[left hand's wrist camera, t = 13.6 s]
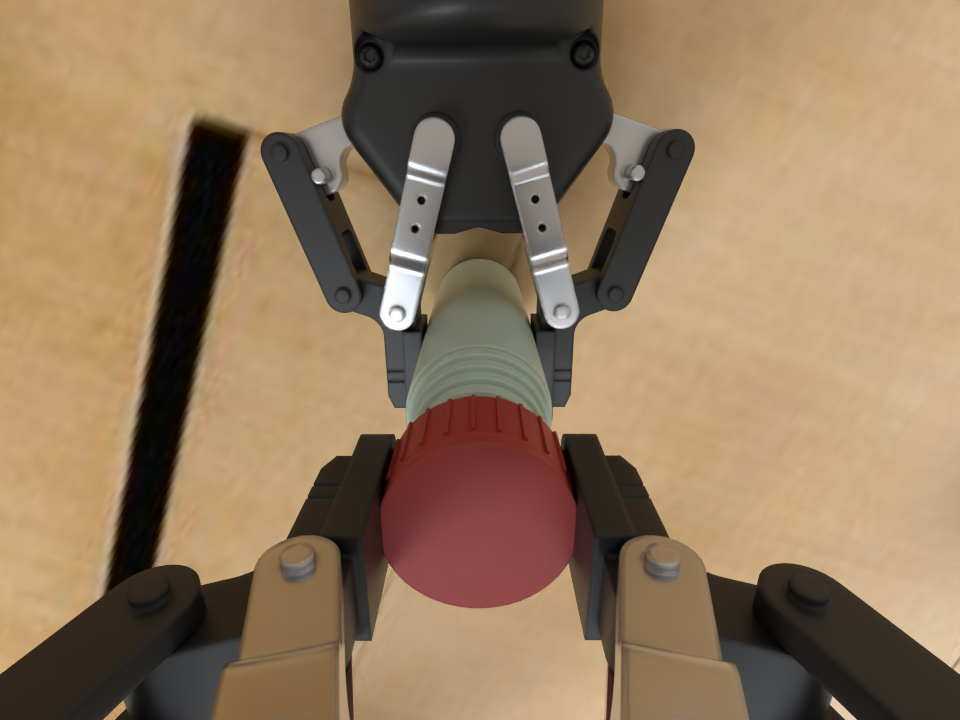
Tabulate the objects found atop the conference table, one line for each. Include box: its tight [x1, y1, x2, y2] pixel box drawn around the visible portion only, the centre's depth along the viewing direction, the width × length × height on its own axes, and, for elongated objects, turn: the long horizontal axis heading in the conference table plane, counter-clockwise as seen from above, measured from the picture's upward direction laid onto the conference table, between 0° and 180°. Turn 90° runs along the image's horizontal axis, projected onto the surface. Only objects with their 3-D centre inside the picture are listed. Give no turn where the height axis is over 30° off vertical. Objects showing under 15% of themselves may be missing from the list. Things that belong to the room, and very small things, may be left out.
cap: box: [380, 394, 577, 608], centre depth 11 cm, size 4×4×2 cm
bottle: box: [406, 259, 552, 429], centre depth 19 cm, size 4×4×17 cm
